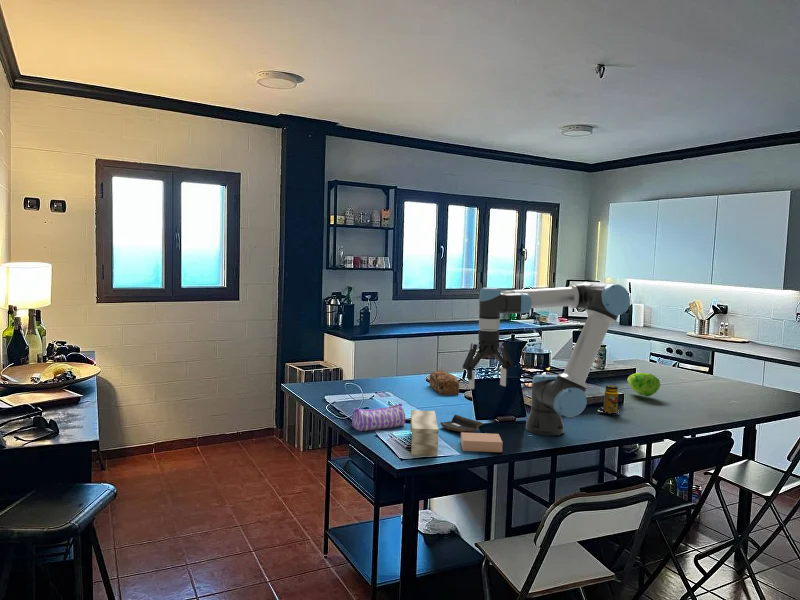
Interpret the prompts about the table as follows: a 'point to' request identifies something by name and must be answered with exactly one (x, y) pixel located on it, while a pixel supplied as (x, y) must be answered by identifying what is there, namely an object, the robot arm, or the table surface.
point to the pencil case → (378, 418)
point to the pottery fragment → (462, 424)
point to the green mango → (644, 383)
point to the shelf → (424, 433)
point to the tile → (481, 442)
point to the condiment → (610, 399)
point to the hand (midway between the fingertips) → (487, 386)
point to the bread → (444, 383)
